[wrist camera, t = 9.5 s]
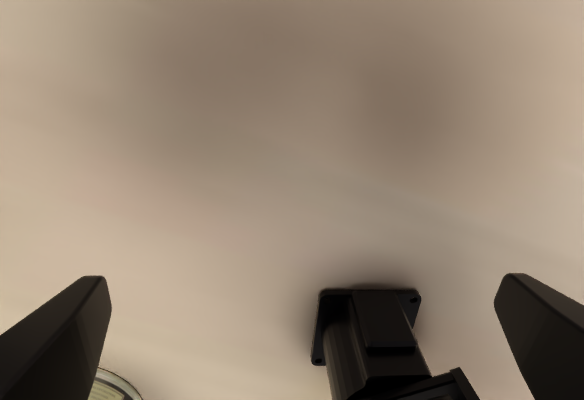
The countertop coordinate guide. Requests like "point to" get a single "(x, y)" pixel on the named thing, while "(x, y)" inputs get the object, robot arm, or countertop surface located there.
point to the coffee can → (111, 388)
